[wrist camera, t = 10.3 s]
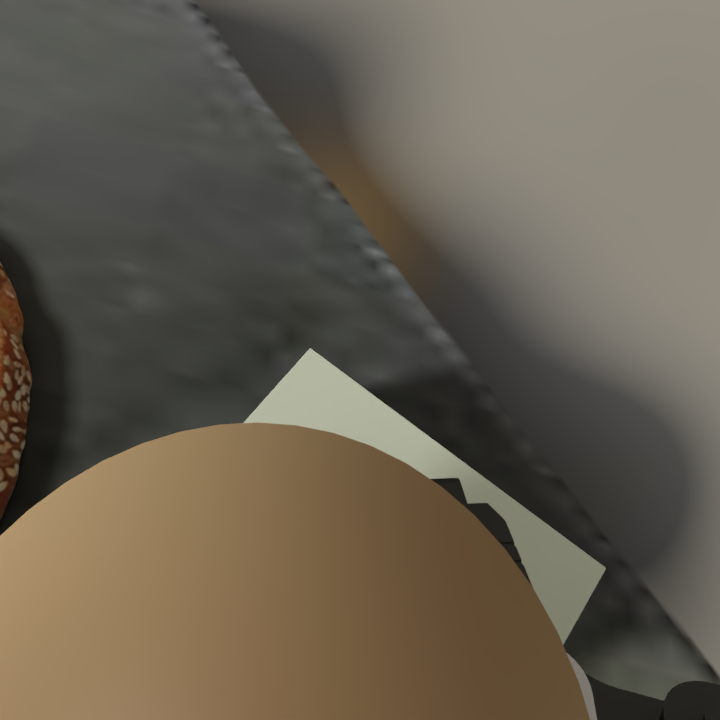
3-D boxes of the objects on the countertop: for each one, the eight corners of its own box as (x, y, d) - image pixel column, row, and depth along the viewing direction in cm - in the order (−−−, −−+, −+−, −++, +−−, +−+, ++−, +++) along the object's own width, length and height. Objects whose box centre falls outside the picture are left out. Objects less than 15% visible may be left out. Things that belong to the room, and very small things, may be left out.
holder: (138, 619, 19) (48, 642, 14) (323, 401, 22) (310, 348, 17) (366, 848, 17) (368, 991, 11) (538, 566, 20) (606, 568, 14)
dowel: (250, 616, 16) (-335, 874, 3) (332, 509, 17) (217, 315, 4) (352, 711, 15) (243, 1896, 2) (432, 591, 16) (744, 715, 3)
